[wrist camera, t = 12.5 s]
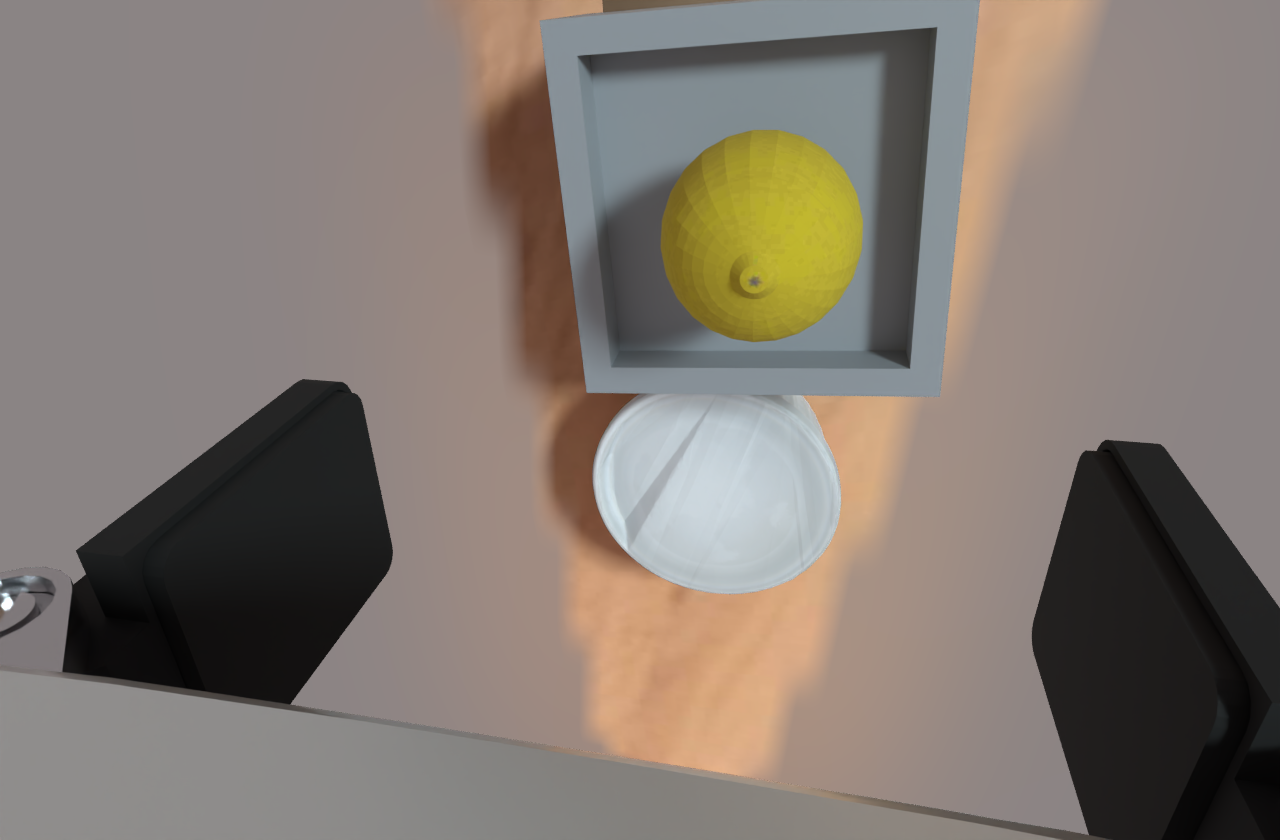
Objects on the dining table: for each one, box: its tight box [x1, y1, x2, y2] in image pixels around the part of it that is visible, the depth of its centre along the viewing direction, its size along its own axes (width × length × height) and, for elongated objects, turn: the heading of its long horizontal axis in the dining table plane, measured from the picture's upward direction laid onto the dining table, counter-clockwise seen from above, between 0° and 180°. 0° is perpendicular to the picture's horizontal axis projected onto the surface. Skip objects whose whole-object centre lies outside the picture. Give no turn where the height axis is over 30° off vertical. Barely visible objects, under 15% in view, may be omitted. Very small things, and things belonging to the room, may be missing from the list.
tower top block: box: [540, 0, 980, 397], centre depth 27 cm, size 12×12×6 cm
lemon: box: [661, 130, 863, 342], centre depth 22 cm, size 6×6×8 cm
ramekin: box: [592, 393, 841, 594], centre depth 38 cm, size 11×11×5 cm
